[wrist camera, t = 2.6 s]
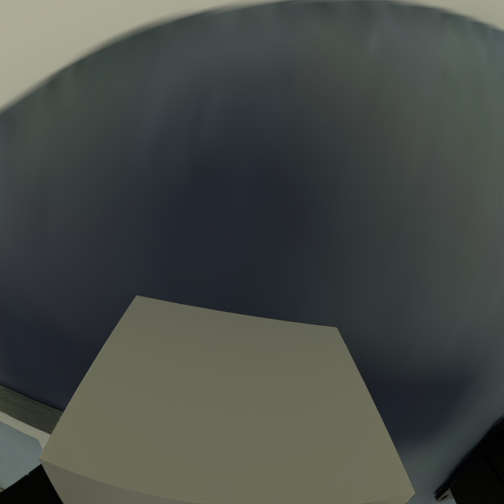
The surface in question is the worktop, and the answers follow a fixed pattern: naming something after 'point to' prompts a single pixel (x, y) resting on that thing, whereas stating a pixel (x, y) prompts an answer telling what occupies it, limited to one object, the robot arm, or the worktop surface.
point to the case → (28, 415)
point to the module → (222, 416)
